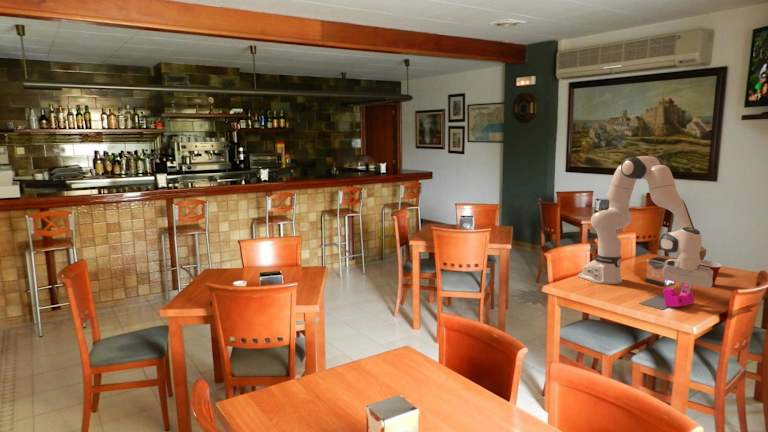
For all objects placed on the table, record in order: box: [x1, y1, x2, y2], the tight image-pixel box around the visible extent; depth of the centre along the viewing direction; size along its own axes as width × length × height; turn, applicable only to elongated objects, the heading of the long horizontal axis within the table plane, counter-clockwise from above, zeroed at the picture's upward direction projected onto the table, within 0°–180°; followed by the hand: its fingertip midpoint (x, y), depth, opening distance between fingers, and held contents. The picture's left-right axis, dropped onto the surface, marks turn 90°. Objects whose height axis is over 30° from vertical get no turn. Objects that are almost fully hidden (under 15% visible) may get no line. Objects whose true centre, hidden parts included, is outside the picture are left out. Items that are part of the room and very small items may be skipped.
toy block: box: [663, 285, 695, 307], centre depth 232 cm, size 15×6×8 cm, turn 116°
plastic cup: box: [699, 259, 723, 287], centre depth 261 cm, size 11×11×12 cm
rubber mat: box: [638, 292, 671, 311], centre depth 238 cm, size 10×24×1 cm, turn 127°
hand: (685, 293), depth 230 cm, fingers closed
